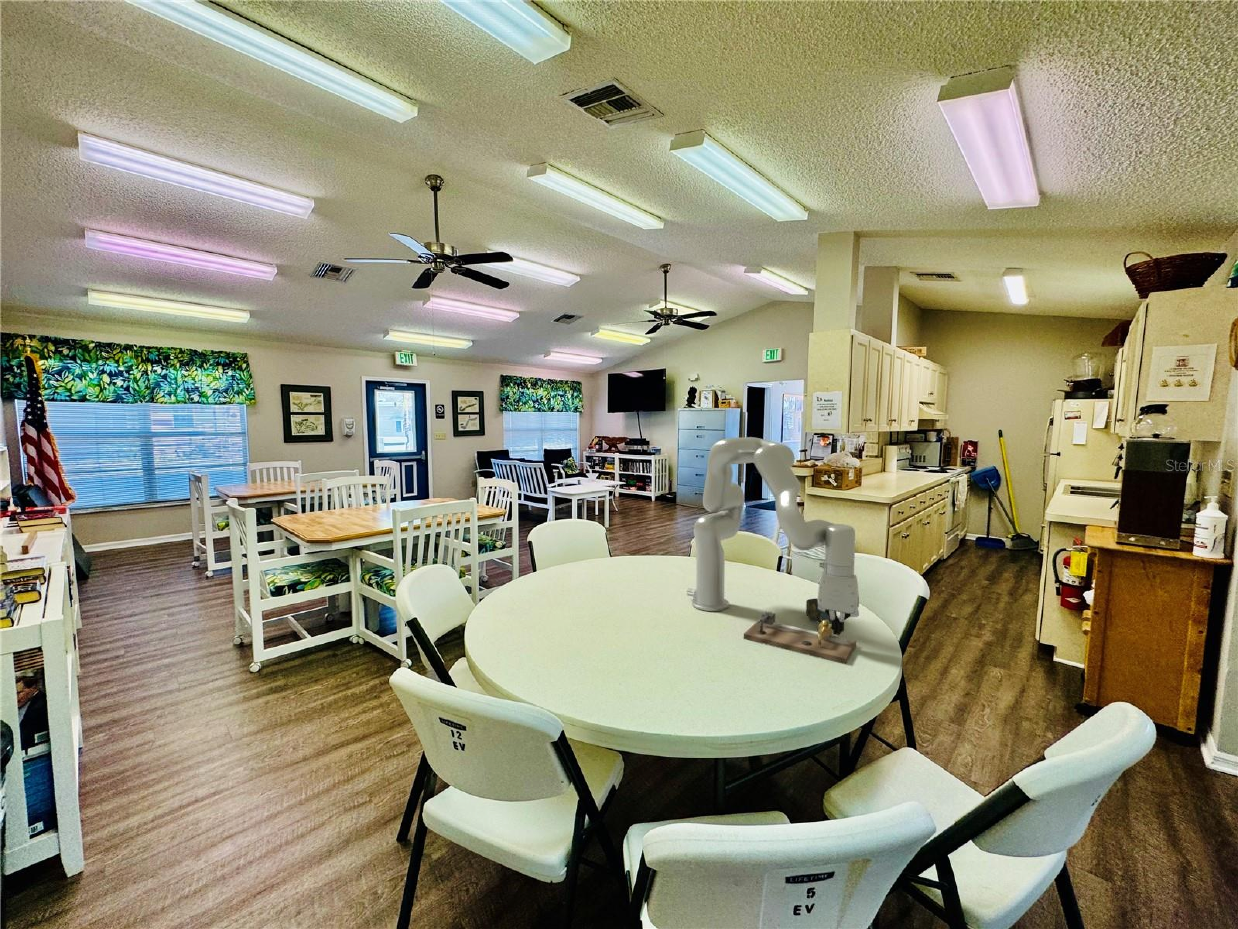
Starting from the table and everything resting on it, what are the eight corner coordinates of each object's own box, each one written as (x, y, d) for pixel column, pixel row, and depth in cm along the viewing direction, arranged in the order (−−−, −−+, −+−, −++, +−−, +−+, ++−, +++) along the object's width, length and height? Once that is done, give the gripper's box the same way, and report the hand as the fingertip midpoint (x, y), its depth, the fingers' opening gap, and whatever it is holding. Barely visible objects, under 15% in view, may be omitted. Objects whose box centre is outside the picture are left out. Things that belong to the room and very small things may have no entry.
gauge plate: (743, 638, 151) (743, 621, 150) (759, 624, 161) (759, 607, 161) (845, 664, 134) (846, 644, 134) (856, 646, 145) (856, 628, 145)
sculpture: (838, 632, 155) (839, 609, 154) (816, 631, 155) (817, 609, 155) (824, 615, 168) (825, 595, 167) (804, 615, 169) (805, 594, 168)
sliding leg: (813, 643, 142) (813, 627, 142) (821, 633, 148) (821, 618, 148) (824, 646, 140) (825, 629, 140) (832, 636, 147) (832, 620, 146)
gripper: (807, 568, 144) (806, 631, 146) (866, 577, 135) (863, 644, 137) (815, 562, 150) (813, 623, 152) (871, 570, 141) (869, 635, 143)
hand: (837, 633), depth 144 cm, fingers closed
